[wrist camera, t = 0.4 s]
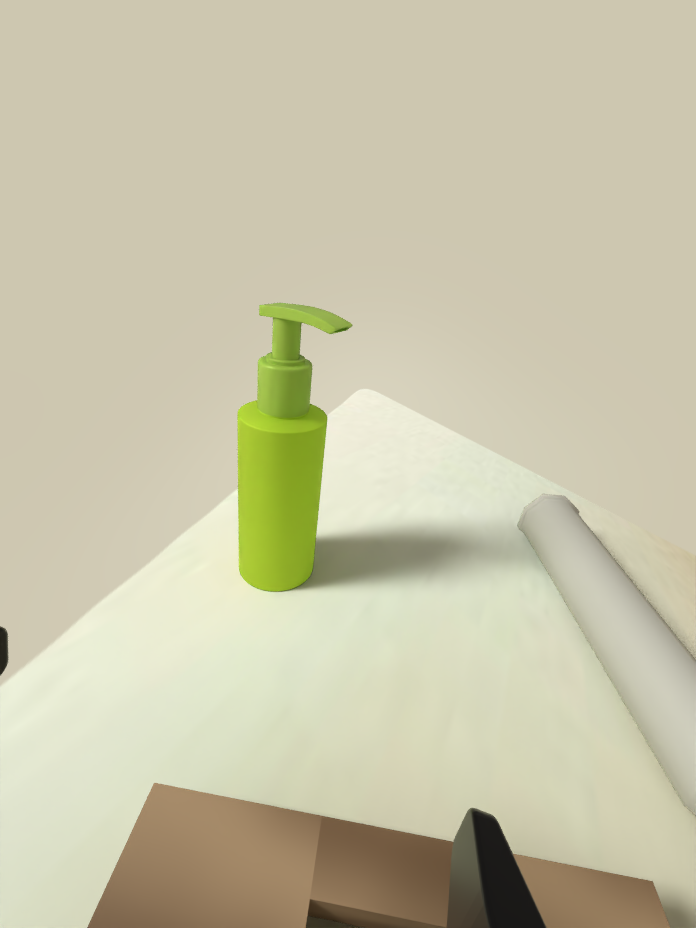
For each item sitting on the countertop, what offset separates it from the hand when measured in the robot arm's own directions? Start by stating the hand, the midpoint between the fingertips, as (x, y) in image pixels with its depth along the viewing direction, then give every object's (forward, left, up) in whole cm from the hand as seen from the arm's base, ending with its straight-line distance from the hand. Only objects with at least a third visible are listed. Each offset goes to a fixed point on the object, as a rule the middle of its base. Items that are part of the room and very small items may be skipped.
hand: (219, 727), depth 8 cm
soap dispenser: (+22, +4, -16) cm, 28 cm away
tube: (+20, -21, -17) cm, 33 cm away
